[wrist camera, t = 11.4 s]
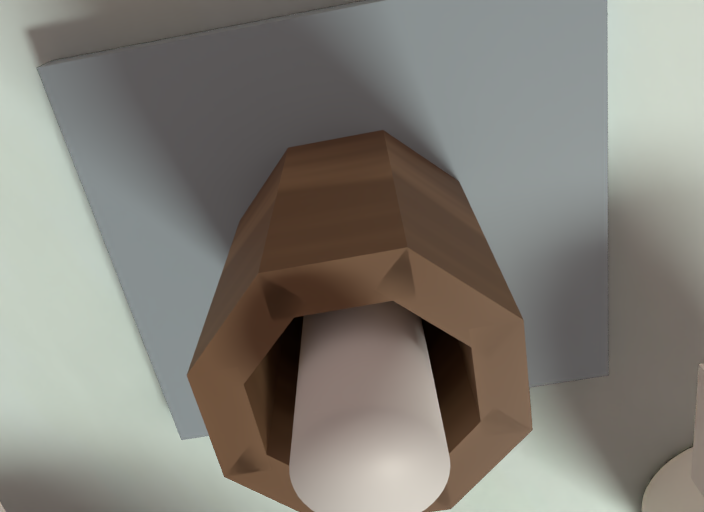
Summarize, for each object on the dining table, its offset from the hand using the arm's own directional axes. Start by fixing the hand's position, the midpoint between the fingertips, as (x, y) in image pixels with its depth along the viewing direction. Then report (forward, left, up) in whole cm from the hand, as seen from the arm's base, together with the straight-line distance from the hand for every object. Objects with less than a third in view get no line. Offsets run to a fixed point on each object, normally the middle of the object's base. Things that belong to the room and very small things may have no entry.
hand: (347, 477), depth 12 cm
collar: (0, 0, -10) cm, 10 cm away
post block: (0, 0, -11) cm, 11 cm away
